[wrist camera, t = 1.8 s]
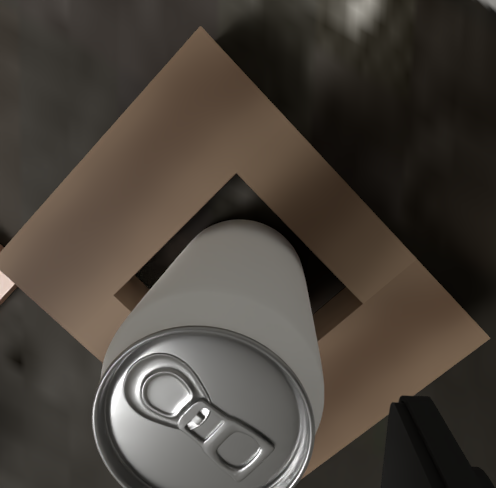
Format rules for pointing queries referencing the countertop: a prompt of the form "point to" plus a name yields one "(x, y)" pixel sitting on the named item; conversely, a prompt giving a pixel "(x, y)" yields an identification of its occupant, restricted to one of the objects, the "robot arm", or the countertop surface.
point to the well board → (277, 198)
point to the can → (215, 370)
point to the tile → (5, 285)
